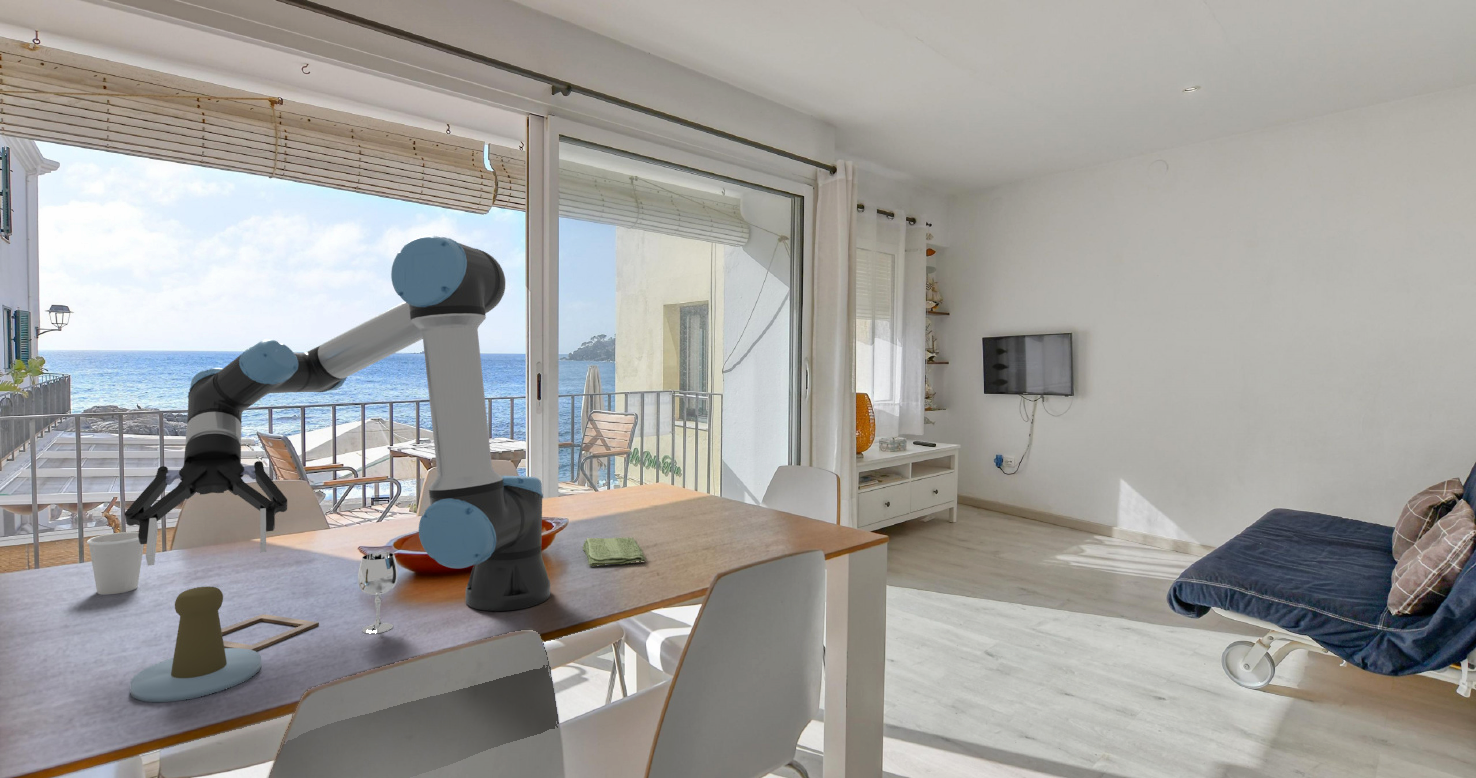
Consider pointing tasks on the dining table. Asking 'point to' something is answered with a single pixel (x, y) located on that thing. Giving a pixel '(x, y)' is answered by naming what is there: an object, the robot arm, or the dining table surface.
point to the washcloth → (612, 551)
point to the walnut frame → (302, 627)
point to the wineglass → (377, 583)
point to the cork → (198, 633)
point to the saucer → (194, 678)
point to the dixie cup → (116, 562)
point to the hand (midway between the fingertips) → (208, 553)
